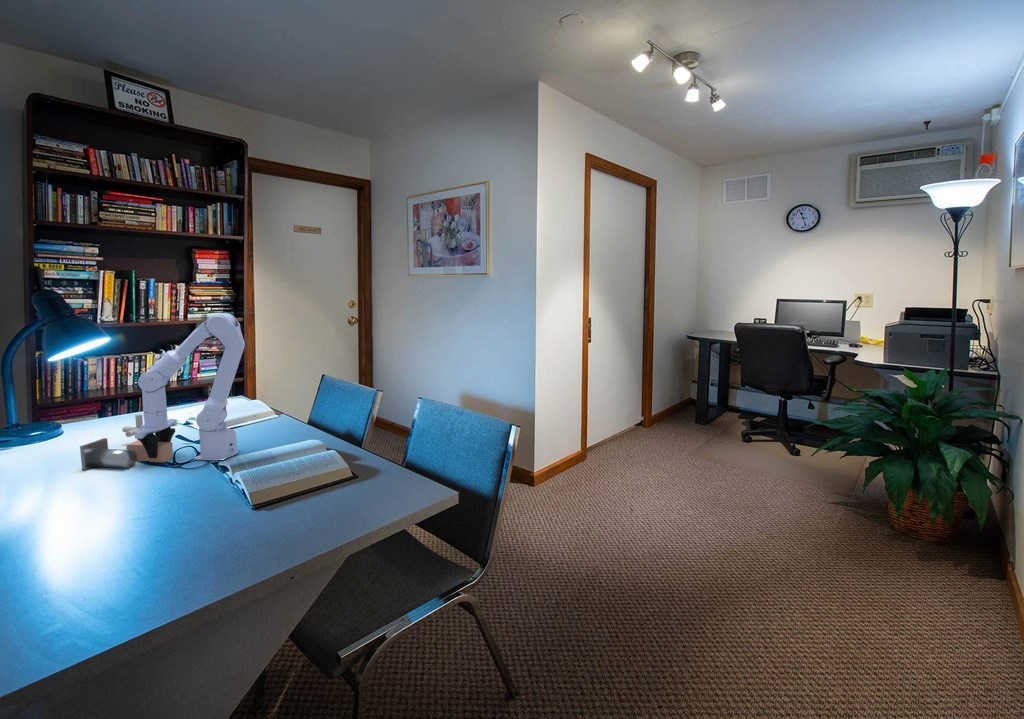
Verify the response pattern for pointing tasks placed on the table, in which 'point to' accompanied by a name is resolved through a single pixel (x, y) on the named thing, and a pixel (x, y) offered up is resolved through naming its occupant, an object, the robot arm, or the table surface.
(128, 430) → the pipe connector
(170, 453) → the tan piece
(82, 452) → the grey cylinder with plate
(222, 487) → the table surface
